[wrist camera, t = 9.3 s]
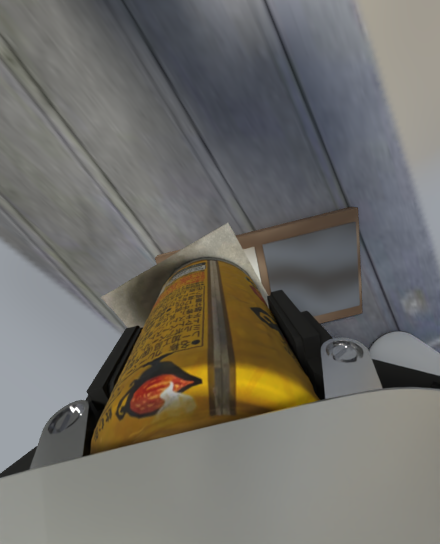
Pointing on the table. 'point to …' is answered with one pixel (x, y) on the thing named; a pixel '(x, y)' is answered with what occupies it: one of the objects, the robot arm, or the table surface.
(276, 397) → the condiment
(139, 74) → the table surface
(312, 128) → the table surface
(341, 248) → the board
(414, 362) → the milk bottle
